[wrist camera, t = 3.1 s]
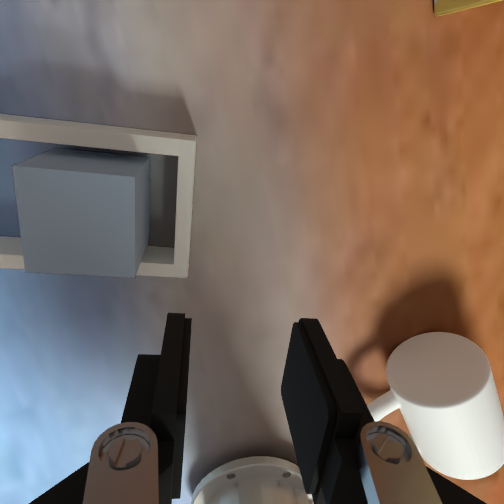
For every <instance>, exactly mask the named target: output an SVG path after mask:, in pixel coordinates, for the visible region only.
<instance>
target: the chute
mask: <svg viewBox="0 0 504 504" xmlns="http://www.w3.org/2000/svg"><path fill="white" fill-rule="evenodd" d="M0 138H6V139H15V140H25V141H35V142H45V143H55V144H65V145H74V146H84V147H94V148H104V149H114V150H123V151H133V152H143V153H153V154H163V155H173V156H178V178H177V202H176V225H175V248H174V247H159V246H147V247H146V250H145V252H144V255H143V258H142V260H141V263H140V266H139V269H138V271H137V274H136V275H138V276H157V277H175V278H188V269H189V257H190V241H191V224H192V208H193V191H194V175H195V158H196V142H197V135H189V134H180V133H171V132H162V131H153V130H144V129H135V128H126V127H117V126H108V125H99V124H90V123H81V122H72V121H63V120H54V119H45V118H36V117H26V116H17V115H8V114H0ZM0 268H9V269H25V266H24V258H23V250H22V243H21V237H7V236H0Z"/></svg>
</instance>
